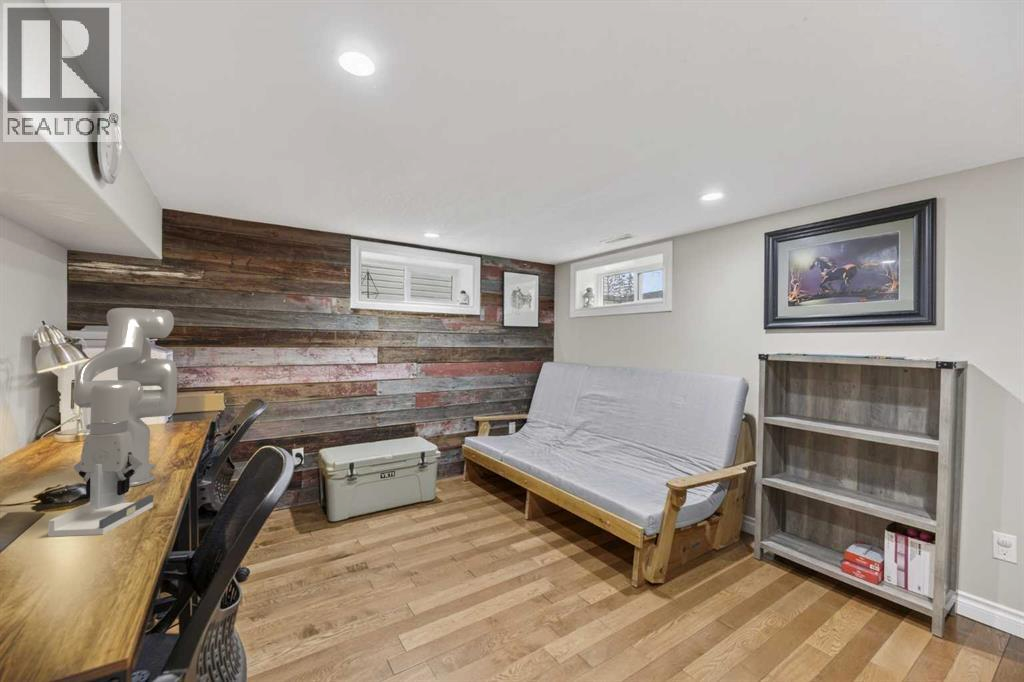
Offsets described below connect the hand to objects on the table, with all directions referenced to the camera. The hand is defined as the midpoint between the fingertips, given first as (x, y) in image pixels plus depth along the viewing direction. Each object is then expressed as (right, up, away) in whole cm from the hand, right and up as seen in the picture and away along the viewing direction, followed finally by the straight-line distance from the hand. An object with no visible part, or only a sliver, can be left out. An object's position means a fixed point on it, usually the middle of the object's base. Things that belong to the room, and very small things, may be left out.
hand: (107, 493), depth 114 cm
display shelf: (-1, -7, 0) cm, 7 cm away
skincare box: (0, -3, 0) cm, 3 cm away
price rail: (+5, -6, +1) cm, 8 cm away
